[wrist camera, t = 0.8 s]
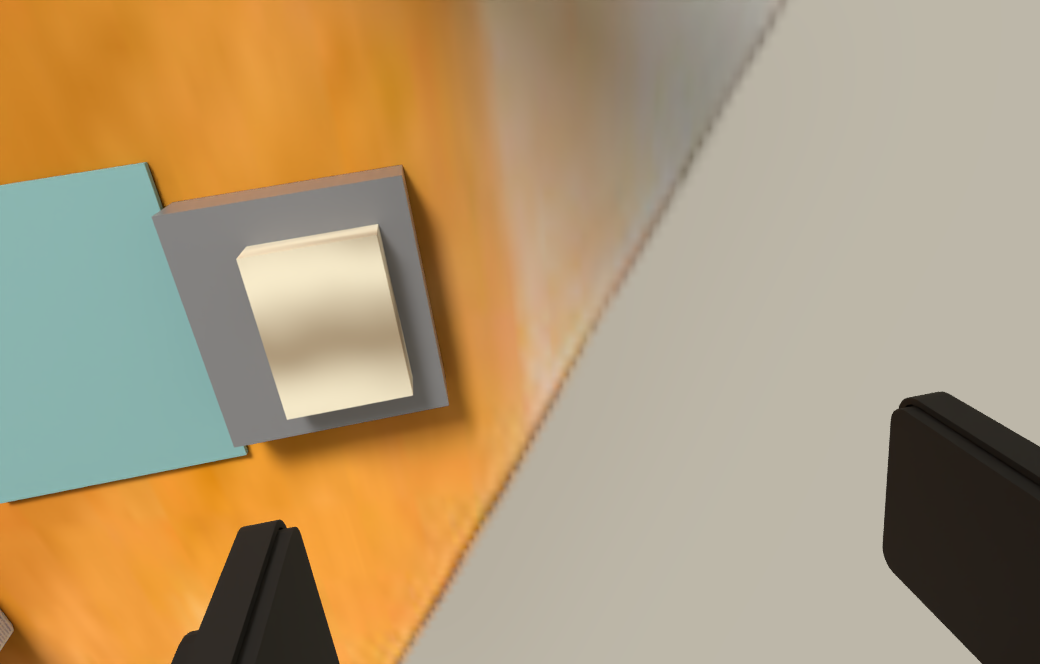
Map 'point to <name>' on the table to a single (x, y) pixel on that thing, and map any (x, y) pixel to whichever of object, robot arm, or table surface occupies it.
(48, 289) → the mat
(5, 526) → the table surface
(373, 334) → the birch tile
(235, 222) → the grey flat square block
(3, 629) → the medicine box
